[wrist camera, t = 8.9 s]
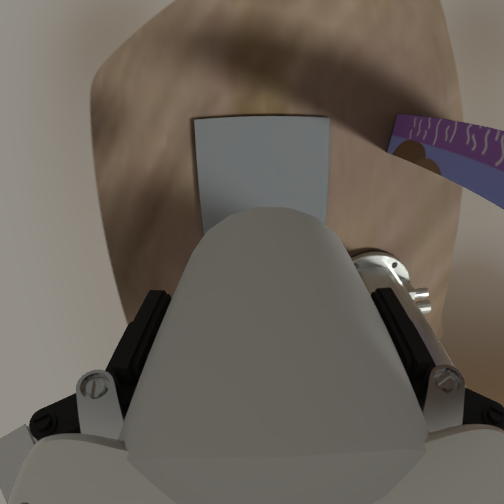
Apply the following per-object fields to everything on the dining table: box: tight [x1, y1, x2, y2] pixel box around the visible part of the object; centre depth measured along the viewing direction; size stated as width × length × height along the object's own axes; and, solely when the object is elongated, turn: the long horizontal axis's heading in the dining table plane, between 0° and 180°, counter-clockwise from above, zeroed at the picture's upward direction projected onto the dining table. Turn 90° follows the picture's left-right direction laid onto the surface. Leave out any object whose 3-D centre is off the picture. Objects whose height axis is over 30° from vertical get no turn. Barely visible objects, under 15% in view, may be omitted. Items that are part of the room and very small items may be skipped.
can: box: [118, 207, 429, 504], centre depth 8 cm, size 8×8×12 cm
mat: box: [194, 116, 330, 236], centre depth 30 cm, size 14×14×1 cm
